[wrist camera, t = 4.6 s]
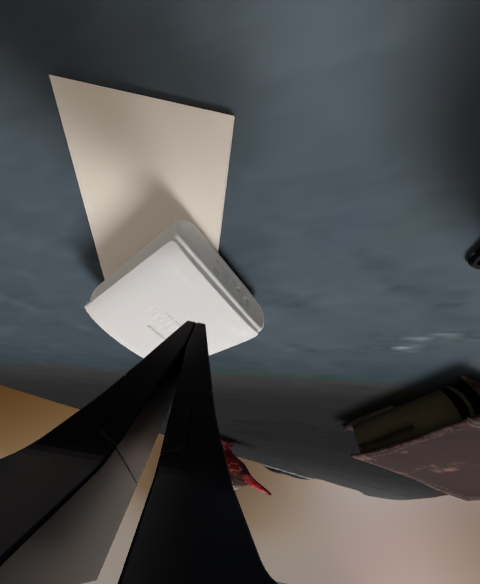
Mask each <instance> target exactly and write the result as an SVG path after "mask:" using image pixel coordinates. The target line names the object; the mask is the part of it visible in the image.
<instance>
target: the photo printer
mask: <svg viewBox="0 0 480 584" xmlns="http://www.w3.org/2000/svg"><path fill="white" fill-rule="evenodd" d="M84 308H85V309H86V311H87V312H88V313H89V315H90V316H91V317H92V319H93V320H94V321H95V322H96V323H97V324H98V325H99V326H100V327H101V328H102V329H103V330H105V331H106V332H107V333H108V334H109V335H110V336H112V337H113V338H114V339H116V340H117V341H118V342H119V343H121V344H122V345H124V346H125V347H127V348H128V349H129V350H131V351H133V352H134V353H136V354H137V355H139V356H141V357H143V358H145V357H146V356H147V355H148V354H149V353H150V352H151V351H153V350H154V349H155V348H156V347H157V346H158V345H160V344H161V343H162V342H163V341H164V340H165V339H166V338H168V337H169V336H170V335H171V334H172V333H173V332H175V331H176V330H177V329H178V328H179V327H180V326H182V325H183V324H184V323H185V322H186V321H193V322H196V323H197V322H198V323H203V324H205V325H206V334H207V343H208V353H209V355H212V354H214V353H217V352H220V351H222V350H225V349H227V348H230V347H232V346H235V345H238V344H240V343H242V342H245V341H247V340H249V339H252V338H253V337H255V336H257V335H258V332H259V331H261V330H262V329H263V326H264V316H263V311H262V308H261V307H260V306H259V304H258V303H257V301H256V300H255V298H254V297H253V296H252V294H251V293H250V292H249V290H248V289H247V288H246V287H245V285H244V284H243V283H242V282H241V281H240V280H239V278H238V277H237V276H236V275H235V273H234V272H233V271H232V270H231V268H230V267H229V266H228V265H227V264H226V262H225V261H224V260H223V259H222V257H221V256H220V255H219V254H218V253H217V251H216V250H215V249H214V248H213V246H212V245H211V244H210V243H209V242H208V240H207V239H206V238H205V237H204V236H203V234H202V233H201V232H200V231H199V230H198V229H197V228H196V227H195V226H194V225H193V224H192V223H191V222H190V221H188V220H178V221H176V222H175V223H173V224H172V225H171V226H170V227H168V228H167V229H166V230H165V231H164V232H162V233H161V234H160V235H159V236H157V237H156V238H155V239H154V240H153V241H151V242H150V243H149V244H148V245H147V246H145V247H144V248H143V249H142V250H140V251H139V252H138V253H137V254H136V255H134V256H133V257H132V258H131V259H130V260H128V261H127V262H126V263H125V264H124V265H122V266H121V267H120V268H119V269H118V270H116V271H115V272H114V273H113V274H112V275H110V276H109V277H108V278H107V279H106V280H104V281H103V282H102V283H101V284H100V285H98V286H97V287H96V289H95V290H94V292H93V293H92V296H91V299H90V302H88V303H87V304H86V305H85V306H84Z"/></svg>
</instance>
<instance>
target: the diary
mask: <svg viewBox="0 0 480 584" xmlns="http://www.w3.org/2000/svg"><path fill="white" fill-rule="evenodd" d="M460 378H461V379H462V380H464V381H465V382H466V383H468V384H469V385H470V386H471V387H472V388H473V390H474V391H475V392H476V393H477V394H478V395H479V397H480V383H478V382H477V381H475V380H473V379H471V378H470V377H468V376H466V375H462V376H460ZM443 384H444V383H443ZM444 385H446V384H444ZM446 386H448V385H446ZM448 388H449V389H451V390H452V391H454V392H455V393H457V394H458V395H459V396H460V397H461V399H462V400H463V401H462V400H460V399H457V398H455V397H453V396H451V395H449V394H447V393H445V392H443V391H441V390H438V391H435V392H433V393H430V394H428V395H425V396H423V397H420V398H418V399H415V400H413V401H410V402H408V403H406V404H403V405H401V406H398V407H395V406H392V405H390V406H388V407H385V408H383V409H381V410H378V411H376V412H373V413H371V414H368V415H366V416H363V417H361V418H358V419H356V420H354V421H352V422H349V423H348V424H347V425H346V426H345V427H344V431H345V430H351V431H354V434H355V437H356V440H357V443H358V446H359V450H360V453H359V454H351V456H352V457H354V458H357V459H359V460H362V461H365V462H368V463H371V464H374V465H376V466H379V467H382V468H385V469H388V470H390V471H393V472H396V473H399V474H402V475H405V476H407V477H410V478H413V479H415V480H417V481H419V482H421V483H423V484H425V485H427V486H430V487H432V488H434V489H436V490H438V491H440V492H443V493H446V494H449V495H451V496H454V497H457V498H461V499H463V500H466V501H474V500H480V400H478V399H476V398H474V397H472V396H470V395H468V394H466V393H464V392H462V391H460V390H458V389H457V388H455V387H453V386H451V385H450V386H448Z"/></svg>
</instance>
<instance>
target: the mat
mask: <svg viewBox="0 0 480 584" xmlns="http://www.w3.org/2000/svg"><path fill="white" fill-rule="evenodd" d="M49 77H50V80H51V84H52V88H53V92H54V95H55V99H56V103H57V106H58V110H59V114H60V117H61V121H62V125H63V128H64V132H65V136H66V139H67V143H68V147H69V150H70V154H71V158H72V162H73V165H74V169H75V173H76V176H77V180H78V184H79V187H80V191H81V195H82V198H83V202H84V206H85V209H86V213H87V217H88V221H89V224H90V228H91V232H92V235H93V239H94V243H95V246H96V250H97V254H98V257H99V261H100V265H101V268H102V272H103V276H104V279H105V280H106V279H107V278H108V277H109V276H110V275H112V274H113V273H114V272H115V271H116V270H118V269H119V268H120V267H121V266H122V265H124V264H125V263H126V262H127V261H128V260H130V259H131V258H132V257H133V256H134V255H136V254H137V253H138V252H139V251H140V250H142V249H143V248H144V247H145V246H147V245H148V244H149V243H150V242H151V241H153V240H154V239H155V238H156V237H157V236H159V235H160V234H161V233H162V232H164V231H165V230H166V229H167V228H168V227H170V226H171V225H172V224H173V223H175V222H176V221H178V220H188V221H190V222H191V223H192V224H193V225H194V226H195V227H196V228H197V229H198V230H199V231H200V232H201V233H202V234H203V236H204V237H205V238H206V239H207V240H208V242H209V243H210V244H211V245H212V246H213V248H214V249H215V250H216V251H217V253H218V250H219V242H220V234H221V226H222V217H223V209H224V201H225V193H226V185H227V177H228V168H229V160H230V152H231V144H232V136H233V127H234V119H235V116H232V115H228V114H223V113H219V112H214V111H210V110H205V109H201V108H196V107H192V106H187V105H183V104H179V103H174V102H170V101H165V100H161V99H156V98H152V97H147V96H143V95H138V94H134V93H129V92H125V91H120V90H116V89H111V88H107V87H102V86H98V85H94V84H89V83H85V82H80V81H76V80H71V79H67V78H62V77H58V76H53V75H49Z"/></svg>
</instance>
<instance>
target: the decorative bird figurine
mask: <svg viewBox="0 0 480 584" xmlns="http://www.w3.org/2000/svg"><path fill="white" fill-rule="evenodd" d="M221 441H222V445H223V446H224V447H225V448H226V450H224V454H225V458H226V462H227V466H228V470H229V474H230V478H231V481H232V484H233V488H234V490H235V489H239V488H242V487H244V486H247V485H249V486H252V487H254V488H256V489H258V490H260V491H262V492H264V493H266V494H268V495H271V493H270V492H269V491H268V490H266V489H265V488H264V487H263V486H262V485H261V484H259V483H258V482H257V481H256V480H255V479H254V478H253V477H252V476H251V475H250V473H249V471H248V469H247V468H246V466H245V464H244V463H243V462H241V461H240V460H239V459H238V458H237V457H236V456H235V455H234V454H233V453H232V451H231V450H230V449H229V448H228V446H230V447H232V446H234V445H231V443H230V442H226V441H224V440H222V439H221ZM229 444H230V445H229Z"/></svg>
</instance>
